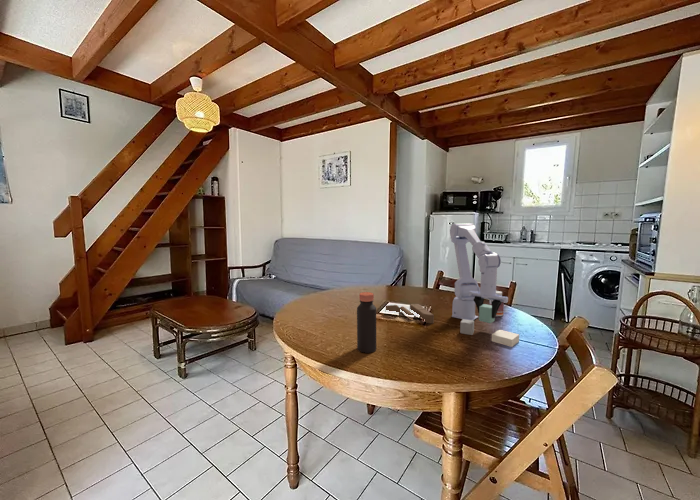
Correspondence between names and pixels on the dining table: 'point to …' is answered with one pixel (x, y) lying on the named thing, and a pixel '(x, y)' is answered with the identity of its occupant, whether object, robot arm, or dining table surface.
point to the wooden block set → (416, 308)
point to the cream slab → (505, 338)
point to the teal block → (486, 313)
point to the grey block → (467, 326)
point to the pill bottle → (501, 308)
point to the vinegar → (366, 323)
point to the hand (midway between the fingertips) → (487, 316)
